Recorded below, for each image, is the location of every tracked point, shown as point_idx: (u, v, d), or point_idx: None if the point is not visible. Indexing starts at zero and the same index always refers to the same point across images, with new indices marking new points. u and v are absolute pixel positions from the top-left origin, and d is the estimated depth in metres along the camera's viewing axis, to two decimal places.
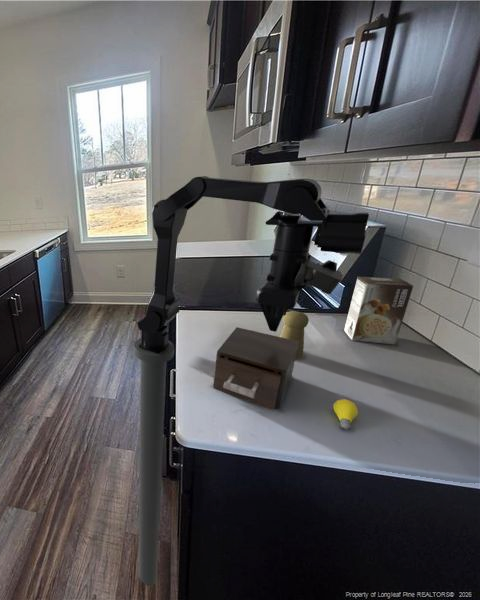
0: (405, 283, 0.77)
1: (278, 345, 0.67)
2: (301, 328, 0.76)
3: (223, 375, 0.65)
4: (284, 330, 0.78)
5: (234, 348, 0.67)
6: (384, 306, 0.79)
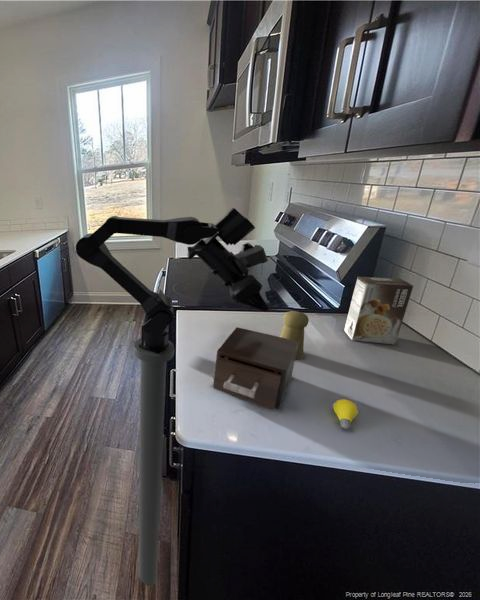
0: (405, 283, 0.77)
1: (278, 345, 0.67)
2: (301, 328, 0.76)
3: (223, 375, 0.65)
4: (284, 330, 0.78)
5: (234, 348, 0.67)
6: (384, 306, 0.79)
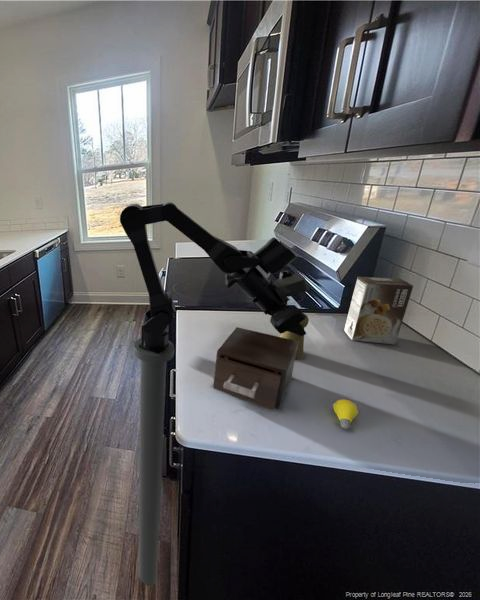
0: (405, 283, 0.77)
1: (278, 345, 0.67)
2: None
3: (223, 375, 0.65)
4: None
5: (234, 348, 0.67)
6: (384, 306, 0.79)
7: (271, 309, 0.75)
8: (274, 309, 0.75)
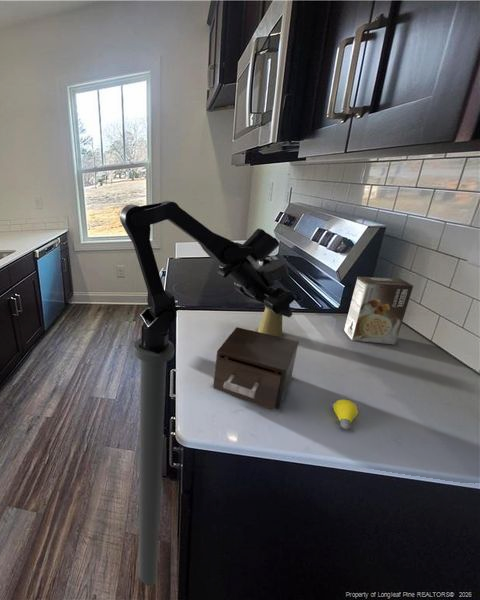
0: (405, 283, 0.77)
1: (278, 345, 0.67)
2: None
3: (223, 375, 0.65)
4: (267, 313, 0.88)
5: (234, 348, 0.67)
6: (384, 306, 0.79)
7: (260, 293, 0.83)
8: (263, 293, 0.83)
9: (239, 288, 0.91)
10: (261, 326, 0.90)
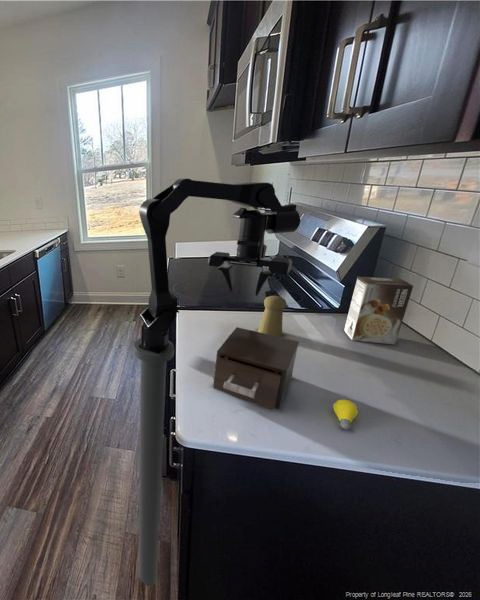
0: (405, 283, 0.77)
1: (278, 345, 0.67)
2: (281, 310, 0.86)
3: (223, 375, 0.65)
4: (267, 313, 0.88)
5: (234, 348, 0.67)
6: (384, 306, 0.79)
7: (258, 259, 0.79)
8: (259, 260, 0.80)
9: (221, 258, 0.84)
10: (261, 326, 0.90)
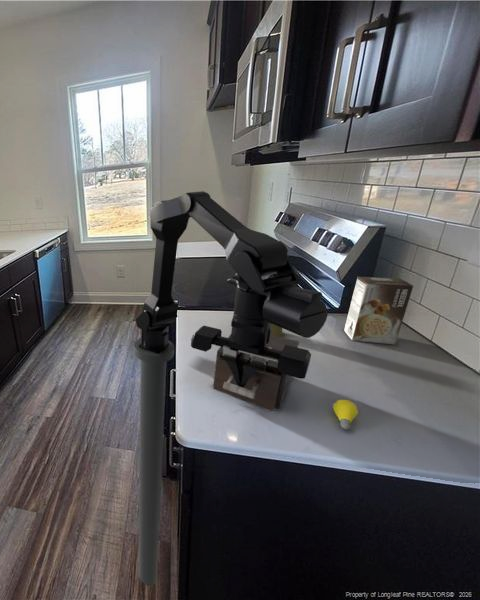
0: (405, 283, 0.77)
1: (278, 345, 0.67)
2: None
3: (223, 376, 0.65)
4: None
5: None
6: (384, 306, 0.79)
7: (262, 348, 0.55)
8: (263, 349, 0.55)
9: (209, 340, 0.59)
10: None
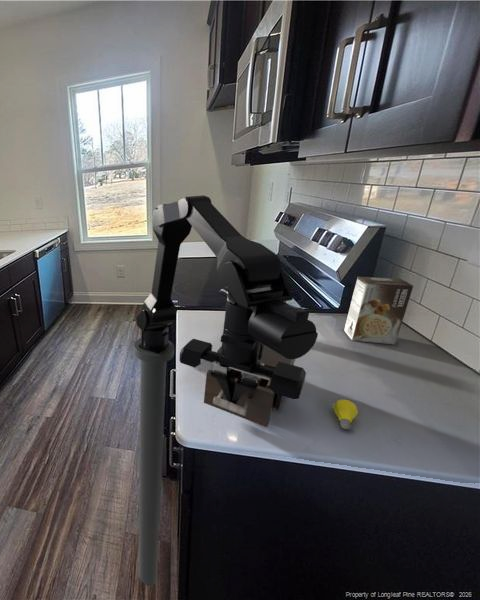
0: (405, 283, 0.77)
1: None
2: None
3: (213, 389, 0.61)
4: None
5: None
6: (384, 306, 0.79)
7: (253, 365, 0.51)
8: (255, 366, 0.52)
9: (198, 356, 0.56)
10: None
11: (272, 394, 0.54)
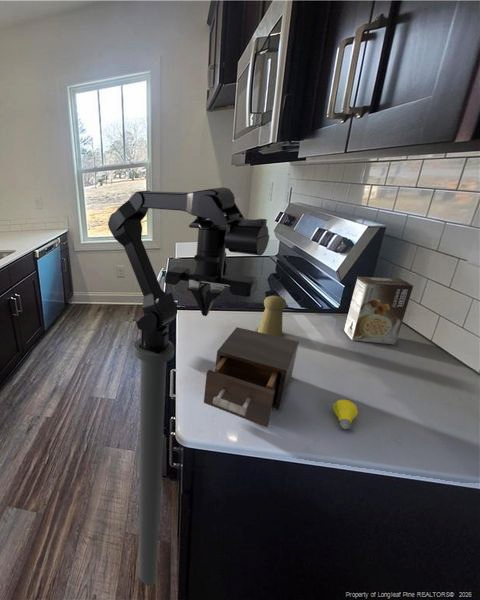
0: (405, 283, 0.77)
1: (278, 345, 0.67)
2: (281, 310, 0.86)
3: (213, 389, 0.61)
4: (267, 313, 0.88)
5: (234, 348, 0.67)
6: (384, 306, 0.79)
7: (219, 277, 0.68)
8: (220, 278, 0.68)
9: (178, 275, 0.72)
10: (261, 326, 0.90)
11: (272, 394, 0.54)
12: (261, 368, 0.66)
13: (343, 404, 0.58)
